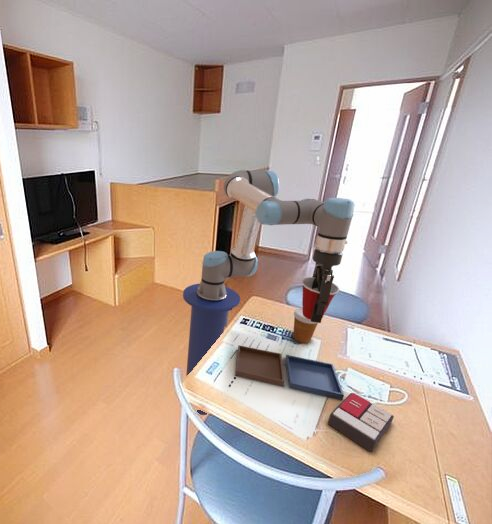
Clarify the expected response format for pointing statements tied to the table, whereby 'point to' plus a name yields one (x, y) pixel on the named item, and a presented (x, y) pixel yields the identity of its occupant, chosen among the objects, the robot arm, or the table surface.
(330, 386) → the plastic tray
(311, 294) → the plastic cup
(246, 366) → the paper tray
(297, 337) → the disposable coffee cup
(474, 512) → the table surface
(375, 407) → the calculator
